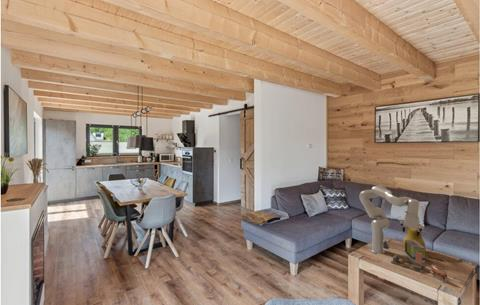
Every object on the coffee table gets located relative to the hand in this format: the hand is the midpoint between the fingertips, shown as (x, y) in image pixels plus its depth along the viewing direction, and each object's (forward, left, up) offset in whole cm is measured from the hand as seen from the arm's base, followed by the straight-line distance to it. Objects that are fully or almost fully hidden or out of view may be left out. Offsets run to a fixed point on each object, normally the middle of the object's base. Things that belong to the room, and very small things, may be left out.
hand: (410, 233), depth 202 cm
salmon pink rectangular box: (+6, -3, -27) cm, 28 cm away
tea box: (0, +16, -29) cm, 33 cm away
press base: (-1, -3, -28) cm, 28 cm away
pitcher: (-4, +34, -29) cm, 45 cm away
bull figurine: (+19, -6, -29) cm, 35 cm away
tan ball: (-6, -3, -27) cm, 28 cm away
